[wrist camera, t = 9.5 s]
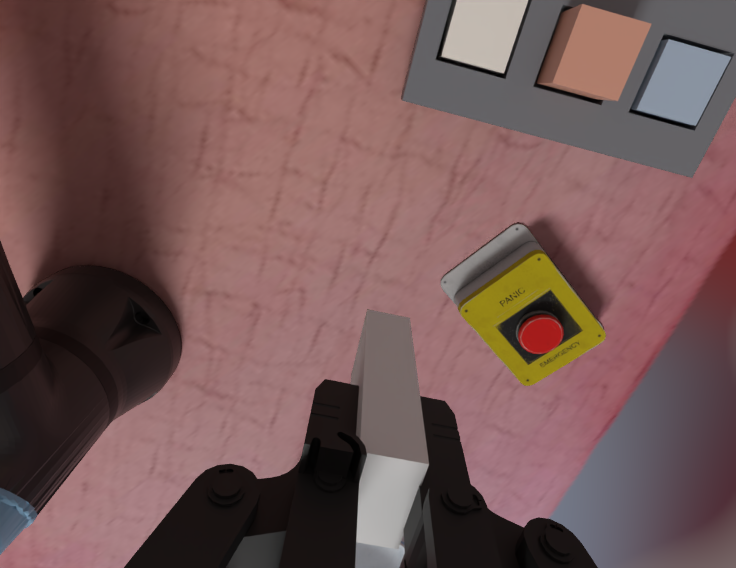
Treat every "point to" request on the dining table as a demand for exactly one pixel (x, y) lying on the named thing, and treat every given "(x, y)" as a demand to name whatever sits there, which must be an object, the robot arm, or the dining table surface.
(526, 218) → the dining table surface
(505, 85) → the key panel
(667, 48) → the blue key
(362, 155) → the dining table surface
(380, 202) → the dining table surface
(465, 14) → the ivory key
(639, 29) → the orange key
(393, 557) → the chinaware
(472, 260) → the emergency button
